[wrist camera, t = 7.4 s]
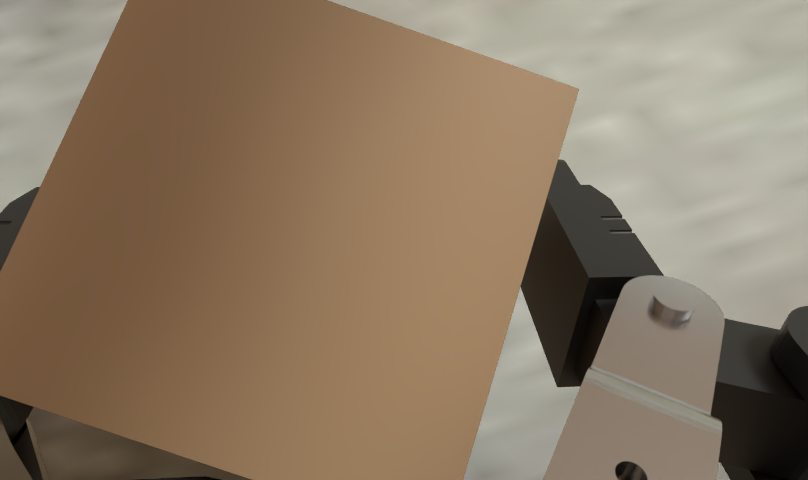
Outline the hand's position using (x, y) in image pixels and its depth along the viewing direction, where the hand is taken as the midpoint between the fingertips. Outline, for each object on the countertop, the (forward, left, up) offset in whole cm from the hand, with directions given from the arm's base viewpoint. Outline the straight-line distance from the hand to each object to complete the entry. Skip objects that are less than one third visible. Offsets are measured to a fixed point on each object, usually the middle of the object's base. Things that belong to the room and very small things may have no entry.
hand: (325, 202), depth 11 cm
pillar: (-1, +1, -5) cm, 5 cm away
